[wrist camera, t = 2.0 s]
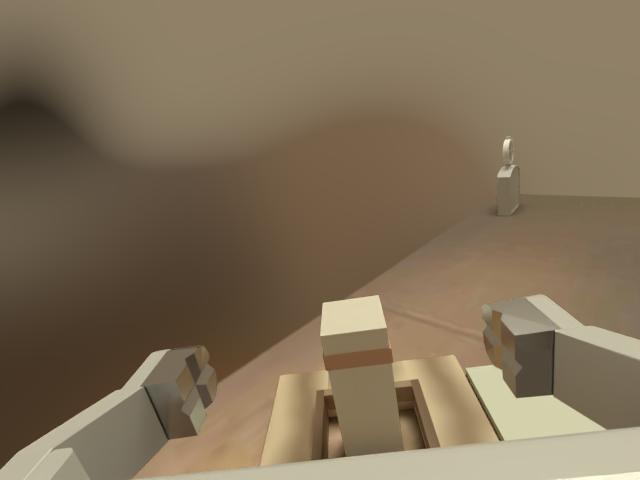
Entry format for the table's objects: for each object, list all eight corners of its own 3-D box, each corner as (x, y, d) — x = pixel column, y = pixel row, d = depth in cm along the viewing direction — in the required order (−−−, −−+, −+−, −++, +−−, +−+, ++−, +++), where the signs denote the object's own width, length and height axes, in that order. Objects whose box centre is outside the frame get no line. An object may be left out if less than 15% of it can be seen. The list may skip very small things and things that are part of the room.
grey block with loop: (497, 215, 81) (496, 140, 75) (507, 204, 87) (507, 135, 81) (510, 215, 79) (510, 138, 73) (519, 205, 85) (519, 133, 80)
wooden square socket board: (231, 621, 20) (218, 594, 19) (282, 382, 39) (277, 363, 38) (579, 607, 18) (582, 576, 17) (454, 362, 37) (453, 341, 36)
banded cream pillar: (350, 483, 26) (318, 337, 22) (348, 432, 31) (321, 302, 27) (409, 478, 26) (388, 328, 22) (398, 427, 30) (379, 294, 26)
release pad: (565, 561, 20) (565, 552, 20) (465, 374, 35) (465, 368, 35) (809, 548, 18) (813, 538, 18) (596, 359, 34) (596, 353, 33)
